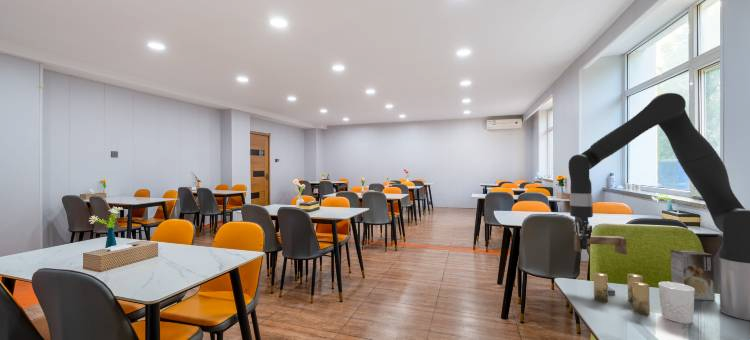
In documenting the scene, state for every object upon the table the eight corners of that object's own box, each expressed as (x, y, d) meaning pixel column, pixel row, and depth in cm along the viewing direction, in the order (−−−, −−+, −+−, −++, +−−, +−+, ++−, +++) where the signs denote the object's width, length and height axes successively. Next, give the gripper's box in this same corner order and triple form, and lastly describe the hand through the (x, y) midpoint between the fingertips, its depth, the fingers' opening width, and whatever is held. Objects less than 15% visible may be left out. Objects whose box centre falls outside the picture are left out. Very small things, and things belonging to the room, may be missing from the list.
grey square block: (608, 292, 117) (608, 286, 117) (615, 296, 113) (615, 290, 113) (596, 291, 118) (596, 286, 118) (602, 295, 113) (602, 290, 113)
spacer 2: (637, 299, 109) (637, 274, 109) (646, 304, 105) (645, 277, 105) (625, 299, 109) (624, 273, 110) (633, 303, 105) (632, 277, 106)
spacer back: (643, 310, 100) (643, 282, 101) (653, 315, 96) (652, 286, 97) (630, 309, 101) (629, 281, 101) (639, 314, 97) (638, 285, 97)
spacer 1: (603, 298, 110) (603, 272, 110) (610, 302, 106) (610, 276, 106) (591, 297, 111) (591, 272, 111) (598, 302, 107) (597, 276, 107)
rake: (578, 252, 120) (577, 236, 121) (573, 249, 125) (573, 234, 125) (626, 254, 117) (626, 238, 117) (619, 251, 121) (619, 236, 122)
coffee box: (700, 294, 113) (699, 250, 114) (715, 301, 107) (714, 254, 108) (671, 292, 115) (670, 249, 116) (684, 299, 109) (682, 253, 110)
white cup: (703, 326, 90) (702, 291, 90) (671, 323, 91) (670, 289, 91) (682, 314, 97) (681, 282, 98) (653, 312, 99) (652, 280, 99)
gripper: (600, 206, 115) (601, 253, 115) (584, 203, 129) (585, 244, 128) (577, 206, 117) (578, 251, 116) (564, 203, 130) (564, 244, 130)
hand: (581, 248), depth 122 cm, fingers closed on rake, 3 cm apart
